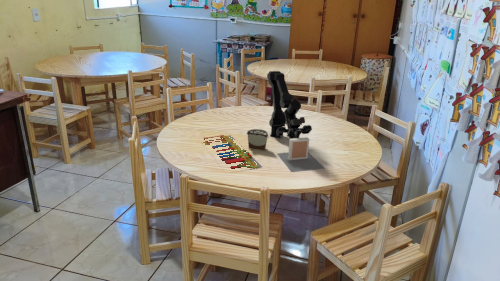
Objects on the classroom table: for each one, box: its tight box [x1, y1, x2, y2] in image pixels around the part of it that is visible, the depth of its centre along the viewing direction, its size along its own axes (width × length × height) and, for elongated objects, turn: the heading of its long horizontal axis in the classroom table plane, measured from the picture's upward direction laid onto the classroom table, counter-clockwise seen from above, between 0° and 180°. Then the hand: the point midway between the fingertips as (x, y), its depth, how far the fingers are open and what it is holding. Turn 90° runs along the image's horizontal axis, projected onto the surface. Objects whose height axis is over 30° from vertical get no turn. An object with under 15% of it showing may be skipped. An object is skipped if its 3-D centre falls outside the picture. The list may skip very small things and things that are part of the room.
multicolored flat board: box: [202, 134, 263, 170], centre depth 194 cm, size 45×2×19 cm
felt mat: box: [276, 151, 326, 173], centre depth 187 cm, size 22×18×1 cm
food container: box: [246, 128, 269, 151], centre depth 199 cm, size 12×6×10 cm, turn 71°
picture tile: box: [287, 137, 310, 160], centre depth 187 cm, size 2×10×11 cm, turn 105°
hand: (297, 145), depth 188 cm, fingers closed
